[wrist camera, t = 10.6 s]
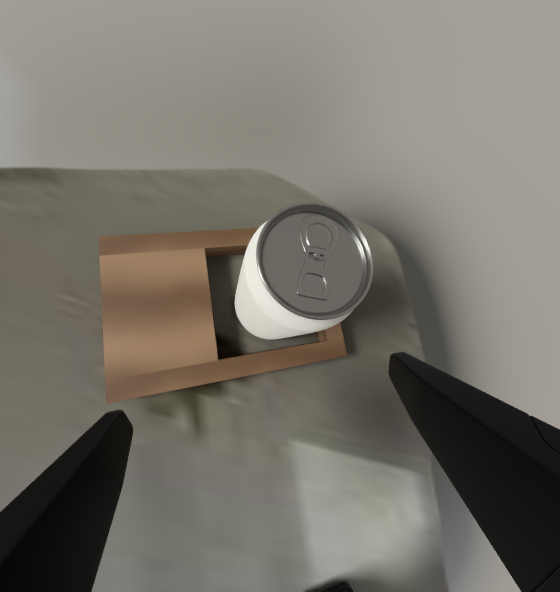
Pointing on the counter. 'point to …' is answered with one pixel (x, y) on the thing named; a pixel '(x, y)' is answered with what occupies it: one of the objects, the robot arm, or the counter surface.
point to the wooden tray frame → (177, 316)
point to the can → (303, 272)
